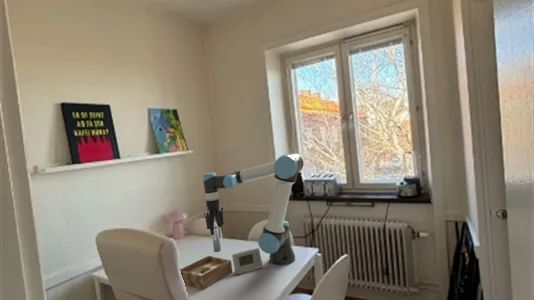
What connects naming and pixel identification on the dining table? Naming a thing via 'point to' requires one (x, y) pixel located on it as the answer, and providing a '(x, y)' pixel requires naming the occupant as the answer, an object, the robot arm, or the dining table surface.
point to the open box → (206, 272)
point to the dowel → (217, 241)
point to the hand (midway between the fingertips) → (217, 238)
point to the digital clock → (247, 261)
